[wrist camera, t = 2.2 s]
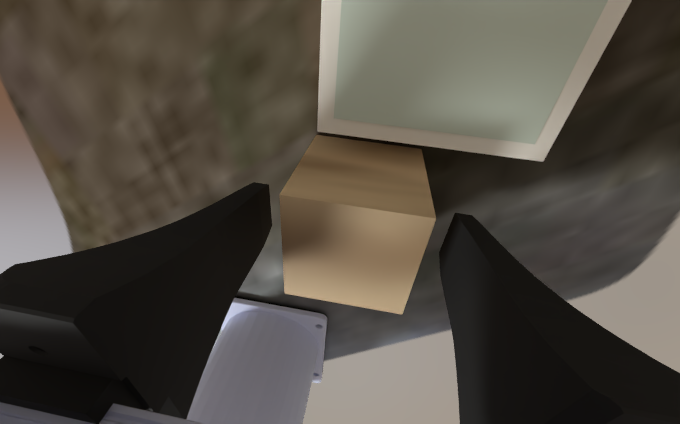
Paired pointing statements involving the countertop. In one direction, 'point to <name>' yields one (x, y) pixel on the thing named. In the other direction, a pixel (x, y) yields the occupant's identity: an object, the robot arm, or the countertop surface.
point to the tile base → (459, 70)
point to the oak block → (356, 223)
